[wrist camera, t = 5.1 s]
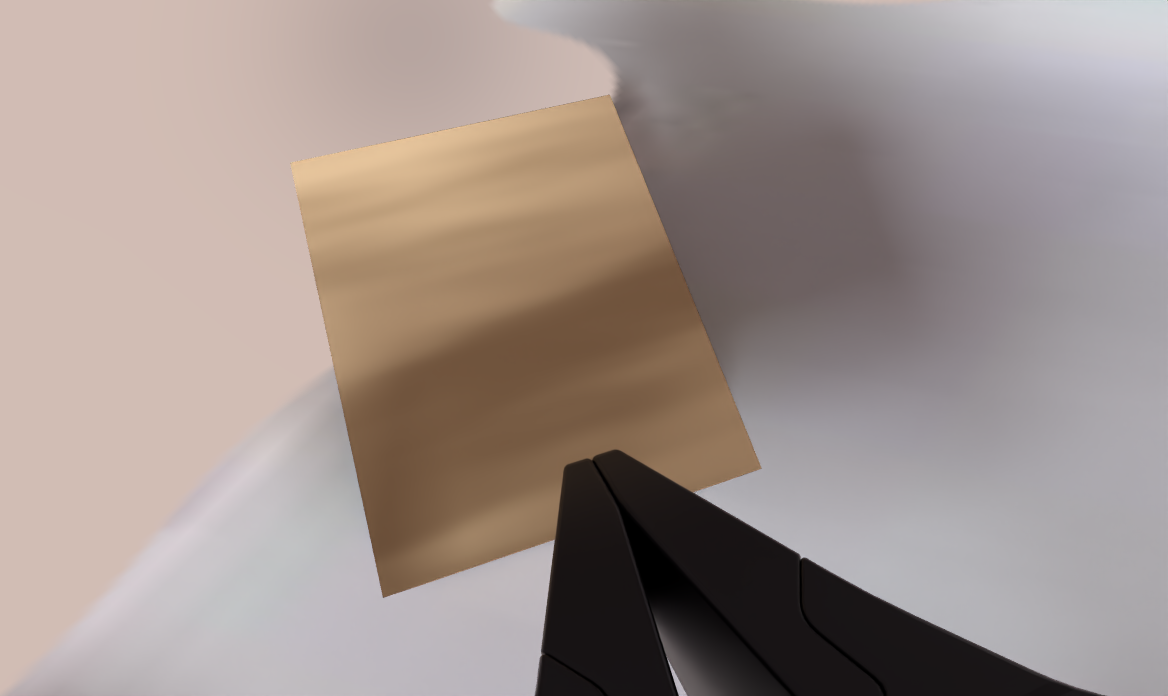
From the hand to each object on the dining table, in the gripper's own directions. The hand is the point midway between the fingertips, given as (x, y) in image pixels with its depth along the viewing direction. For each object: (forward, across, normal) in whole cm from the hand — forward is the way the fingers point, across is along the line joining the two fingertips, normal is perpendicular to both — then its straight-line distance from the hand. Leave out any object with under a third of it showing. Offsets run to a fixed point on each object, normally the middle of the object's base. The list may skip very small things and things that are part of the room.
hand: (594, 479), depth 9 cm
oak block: (+3, 0, +4) cm, 5 cm away
